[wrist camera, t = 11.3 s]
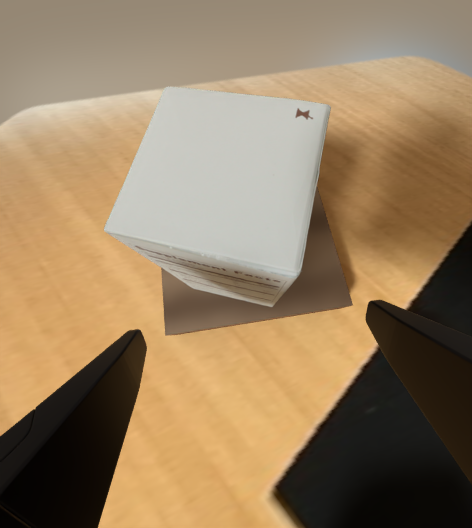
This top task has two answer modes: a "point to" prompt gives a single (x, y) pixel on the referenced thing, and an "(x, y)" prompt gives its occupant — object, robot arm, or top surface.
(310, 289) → the plinth
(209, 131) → the supplement box
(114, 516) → the top surface
